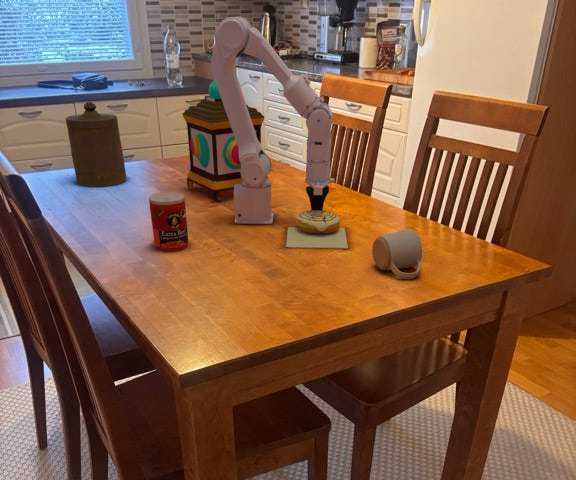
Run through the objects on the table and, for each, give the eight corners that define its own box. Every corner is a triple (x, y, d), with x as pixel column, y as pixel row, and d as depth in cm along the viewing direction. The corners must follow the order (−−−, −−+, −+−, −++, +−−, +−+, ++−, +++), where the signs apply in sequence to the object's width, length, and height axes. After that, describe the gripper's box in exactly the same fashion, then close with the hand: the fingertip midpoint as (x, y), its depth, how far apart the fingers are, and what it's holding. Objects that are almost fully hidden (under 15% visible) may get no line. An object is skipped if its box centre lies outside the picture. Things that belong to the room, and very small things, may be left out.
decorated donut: (326, 238, 136) (326, 222, 134) (287, 230, 140) (287, 215, 138) (347, 227, 143) (348, 212, 141) (309, 220, 148) (310, 205, 146)
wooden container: (105, 172, 188) (93, 97, 176) (136, 179, 181) (126, 101, 169) (66, 182, 178) (51, 103, 166) (98, 189, 171) (84, 108, 159)
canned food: (160, 253, 128) (154, 203, 122) (150, 242, 134) (144, 194, 128) (193, 248, 131) (189, 199, 125) (182, 237, 137) (177, 190, 131)
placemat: (286, 247, 132) (286, 246, 131) (288, 227, 143) (288, 227, 143) (347, 248, 131) (347, 247, 131) (344, 228, 143) (344, 228, 143)
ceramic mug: (368, 264, 123) (371, 228, 119) (401, 258, 126) (405, 223, 122) (394, 283, 115) (399, 246, 111) (429, 277, 118) (435, 240, 114)
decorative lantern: (273, 194, 168) (272, 77, 152) (213, 205, 159) (205, 82, 142) (238, 179, 182) (234, 71, 166) (181, 188, 173) (170, 75, 156)
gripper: (336, 167, 133) (333, 225, 140) (333, 153, 145) (331, 208, 152) (305, 167, 133) (304, 225, 140) (305, 153, 145) (304, 207, 152)
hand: (316, 216), depth 146 cm, fingers closed
